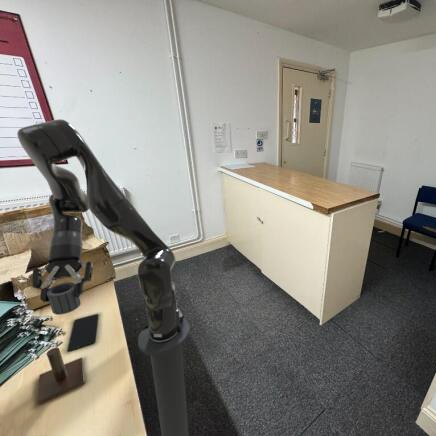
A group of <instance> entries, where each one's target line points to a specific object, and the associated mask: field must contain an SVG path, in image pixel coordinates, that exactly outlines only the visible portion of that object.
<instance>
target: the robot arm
mask: <svg viewBox="0 0 436 436" xmlns="http://www.w3.org/2000/svg"><path fill="white" fill-rule="evenodd" d="M16 135H17V139H18V141H19V143H20V146H21V148H22V149H23V150H24V152H25V153H26V154H27V156H28V157H29V158H30V160H31V161H32V163H33V164H34V165H35V167H36V168H37V170H38V171H39V172H40V174H41V175H42V176H43V178H44V179H45V181H46V182H47V185H48V186H49V187H48V188H49V189H50V191H51V195H50V196H49V197H48V203H49V206H50V210H51V213H52V217H53V229H52V236H51V239H50V244H49V254H48V263H47V266H45V267H42V268H41V267H40V268H39V267H35V268H33V269H32V288H34V289H37V290H40V298H39V300H40V301H42V302H43V303H49V300H48V297H47V291H48V290H49V289H50V288H52V287H53V285H54V284H55V283H57V281H58V280H62V279H66V278H67V279H71V278H72V279H73V280H74V281H75V282H76V283H75V297H79V298H80V297H81V295H82V294H83V293H84V284H86V283H88V282H91V281H92V277H93V270H94V263H93V262H91V261H86V262H82V253H83V252H82V251H83V245H84V243H83V220H82V219H81V218H80V217H78V216H75V215H70V214H82V213H86V212H88V211H89V210H90V212H91V213H92V214H93V216H94V217H95V218H96V219H97V220H98V221H99V222H100V224H101V225H102V226H103V227H105V228H106V229H107V230H108V231H110V232H112V233H114V234H115V235H117V236H119V237H121V238H123V239H125V240H128V241H129V242H130V243H132V244H133V245H134V246H135V247H136V248H137V249H138V250H139V252H140V253H141V254H142V256H143V258H142V260H141V262H140V263H139V264H138V267H137V277H138V282H139V288H140V291H141V294H142V295H143V296H144V302H145V308H146V309H145V310H146V315H147V317H146V318H147V324H148V325H149V333H150V339H151V340H152V341H153V342H155V343H164V342H167V341H169V340H171V339H173V338H174V337H175V336H176V335H177V334H178V333H179V332H181V330H180V323H182V322H184V320H183V318H184V319H185V314H183V313H182V311H181V310H180V308H179V307H178V305H177V292H176V290H177V289H176V284H175V283H174V282H173V281H172V272H173V270H174V267H175V265H176V262H177V261H176V260H177V259H176V255H175V253H174V251H172V249H171V248H170V247H169V246H168V245H167V244H166V243H165V242H164V241H163V240H162V238H160V237H159V236H158V235H157V234H156V233H155V232H154V231H153V229H152V228H151V227H150V225H149V224H148V223H147V222H146V220H145V219H144V218H143V216H142V215H141V214H140V213H139V212H138V210H137V208H136V207H135V206H134V204H133V203H132V202H131V200H129V198H128V197H127V196H126V195H125V194H124V192H122V190H121V189H120V187H119V186H118V185H117V184H116V182H115V181H114V180H113V179H112V178H111V176H110V175H109V174H108V173H107V171H106V170H105V169H104V167H103V165H102V164H101V163H100V161H99V160H98V158H97V157H96V155H95V153H93V151H92V149H91V147H89V145H88V144H87V142H86V140H85V139H84V137H83V136H82V135H81V134H80V133H79V131H78V130H77V129H76V128H75V126H74V125H72V123H70V122H69V121H67V120H65V119H60V118H59V119H53V120H49V121H45V122H39V123H35V124H31V125H27V126H24V127H21V128H19V129H18V130H17V133H16ZM72 158H76V159H77V160H78V161H79V163H80V165H81V167H82V169H83V172H84V175H85V180H86V191H84V190H83V189H82V188H81V183H80V180H79V177H77V175H76V174H75V173H74V172H73V171H72V170H69V169H67V168H64V167H63V166H59V165H57V164H56V163H60V162H63V161H66V160H69V159H72ZM68 213H69V214H68ZM82 268H83V269H84V276H83V277H82V276H81V275H80V274H79V271H80V270H81V269H82ZM46 272H47V273H48V275H47V276H46V278H45V280H44V281H43V276H44V275H45V274H46Z"/></svg>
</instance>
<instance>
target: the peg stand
mask: <svg viewBox="0 0 436 436" xmlns="http://www.w3.org/2000/svg"><path fill="white" fill-rule="evenodd" d="M61 353H62V352H61V350H60V348H59V347H53V348H51V349H49V350H48V351H47V352H46V357H47V359H48V362H49V366H50V370H48V371H45V372H42V373H41V374H39V379H38V387H37V388H38V391H37V404H38V405H41V404H43V403H45V402H47V401H50V400H52V399H53V398H56V397H58V396H60V395H62V394H65V393H66V392H68V391H70V390H73V389H75V388H77V387H79V386H81V385H84V384H85V373H84V360H83V357H79V358H77V359H74V360H72V361H69V362H67V363H65V362H64V360H63V359H64V358H63V356H62V354H61Z"/></svg>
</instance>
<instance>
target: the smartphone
mask: <svg viewBox="0 0 436 436" xmlns="http://www.w3.org/2000/svg"><path fill="white" fill-rule="evenodd" d="M99 316H100V315H99V314H98V313H94V314H92V315H87V316H83V317H80V318H77V319H74V321H73V323H72V324H73V325H72V329H71V334H70V338H69V342H68V346H67V352H68V353H69V352H72V351H77V350H79V349H82V348H86V347H88V346H92V345H95V343H96V342H97V341H96V340H97V334H98V333H97V332H98V326H99V325H98V324H99Z"/></svg>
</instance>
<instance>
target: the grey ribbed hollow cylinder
mask: <svg viewBox="0 0 436 436" xmlns="http://www.w3.org/2000/svg"><path fill="white" fill-rule="evenodd" d="M75 284H76V283H74V282H70V281H69V282H63V283H59V284H55V285H54V286H51V287H50V289H49V290H48V291H47V297H48V300H49V302H48V303H49V306H50V308H51V311H52V314H54V315H60V316H61V315H65V314H69V313H71V312H74V311H75V310H77V309H79V307H80V306H81V305H82V304H81V303H82V301H81V298H80V297H75Z"/></svg>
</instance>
